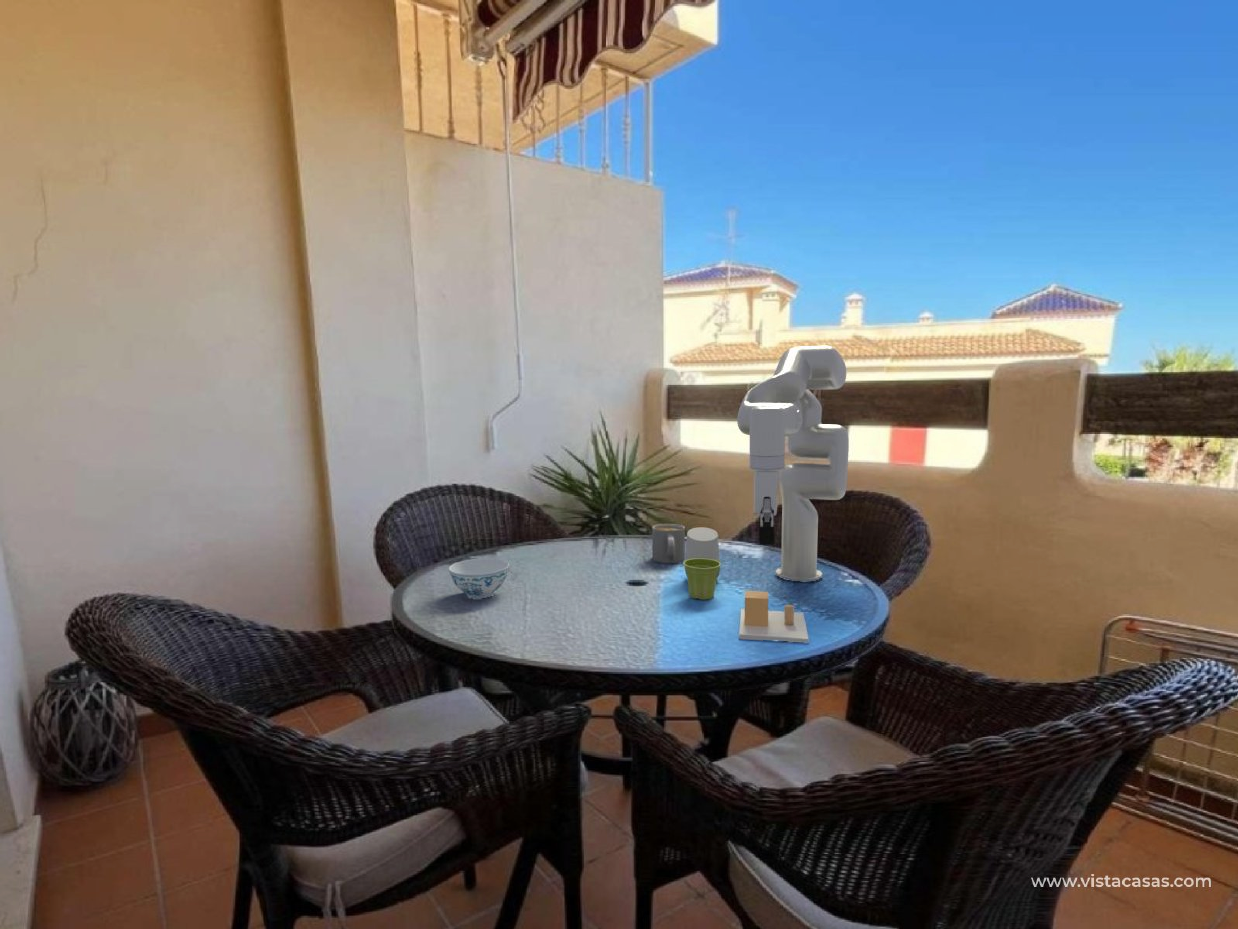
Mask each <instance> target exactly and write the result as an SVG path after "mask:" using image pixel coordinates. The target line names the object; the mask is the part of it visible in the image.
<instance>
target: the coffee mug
mask: <svg viewBox="0 0 1238 929" xmlns="http://www.w3.org/2000/svg"><path fill="white" fill-rule="evenodd" d="M651 530H652V532H651V533H652V537H651V541H652V543H651V546H652V548H651V549H652V552H651V553H652V560H653V561H654V562H656V563H661V564H678V563H682V562H684V561H685V555H686V544H685V543H686V542H685V540H686V538H685V537H686V536H685V535H686V532H685V531H686V529H685V526H684V525H681V524H678V523H677V524H676V523H660V524H655V525H652V529H651Z"/></svg>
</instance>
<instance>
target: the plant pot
mask: <svg viewBox="0 0 1238 929" xmlns="http://www.w3.org/2000/svg"><path fill="white" fill-rule="evenodd" d="M682 562H683V566H684V571H685V570H686V572H687V575H686V578H687V585H688V586H687V587H688V595H689V597H690V598H692V599H699V600H702V601H706V600H710V599H713V598H714V596H715V590H716V585H717V579H718V578H717V572H718V571H719V567H720V568H721V565H722V563H721V561H720V562H718V561H716V560H712V559H704V558H695V559H688V560H684V561H682ZM686 572H685V573H686ZM716 578H717V579H716Z"/></svg>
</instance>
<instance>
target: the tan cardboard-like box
mask: <svg viewBox="0 0 1238 929" xmlns="http://www.w3.org/2000/svg"><path fill="white" fill-rule="evenodd" d="M744 609H745V625H749V626H765V627H768V611H769V591H762V590H760V591H759V590H745V591H744Z"/></svg>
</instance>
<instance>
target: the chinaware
mask: <svg viewBox="0 0 1238 929" xmlns="http://www.w3.org/2000/svg"><path fill="white" fill-rule="evenodd" d="M448 570H449V576H450V577H451V580H452V582H453V584H454V585H455V586H456V587H457V589H459V590H460V591H461V592H462V593H464V594H466V597H467V596H468V597H470V598H474V599H473V600H482V599H481V598H486V597H489V598H491V597H490V596H492V595H493V594H495V592H496V591H497V590H498V589H499V588H500V587H501V586H502V585H503V584H504V582H505V580H506V578H507V576H508V572H509V570H510V564H509V562H508V561H505V560H503V559H499V558H498V559H497V558H474V559H466V560H462V561H459V562H455V563H453V564H451V565H450V566H449V567H448ZM493 596H494V595H493ZM493 596H492V597H493ZM468 597H467V598H468ZM470 598H469V599H470ZM486 599H487V598H486Z"/></svg>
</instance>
